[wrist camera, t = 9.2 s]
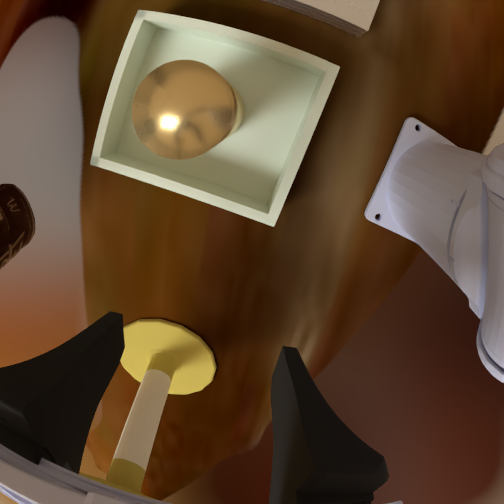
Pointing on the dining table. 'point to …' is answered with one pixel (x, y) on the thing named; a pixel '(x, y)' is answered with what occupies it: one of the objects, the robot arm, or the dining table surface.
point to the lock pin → (185, 109)
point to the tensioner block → (336, 12)
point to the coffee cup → (14, 222)
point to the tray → (244, 138)
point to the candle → (154, 390)
